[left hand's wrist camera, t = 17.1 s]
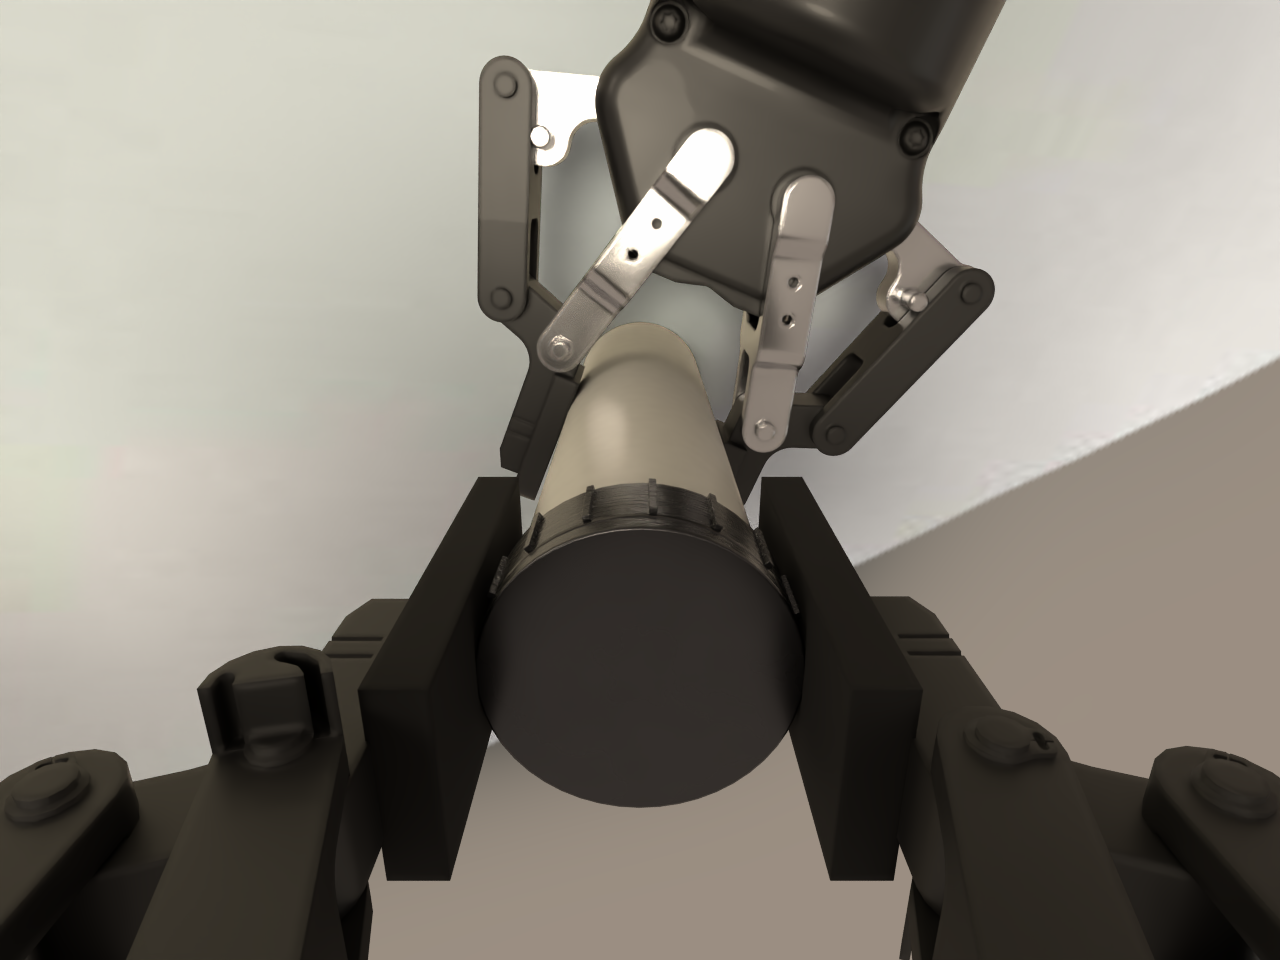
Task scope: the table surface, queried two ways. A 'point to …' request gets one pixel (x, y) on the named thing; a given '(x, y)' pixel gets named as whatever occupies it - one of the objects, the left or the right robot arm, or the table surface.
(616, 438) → the cream bottle
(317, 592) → the table surface
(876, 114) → the right robot arm
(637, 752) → the lid
